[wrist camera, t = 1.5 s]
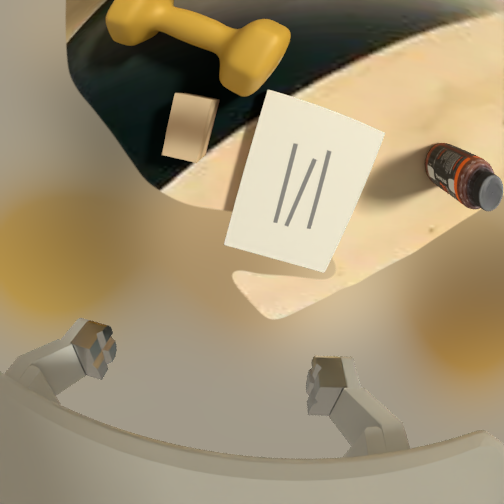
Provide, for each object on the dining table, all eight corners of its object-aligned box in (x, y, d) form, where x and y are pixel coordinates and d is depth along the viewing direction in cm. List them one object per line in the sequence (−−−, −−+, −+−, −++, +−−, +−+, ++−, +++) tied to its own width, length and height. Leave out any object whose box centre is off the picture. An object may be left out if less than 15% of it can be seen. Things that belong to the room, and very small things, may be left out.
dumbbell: (123, 43, 25) (87, 35, 18) (160, -15, 21) (131, -36, 14) (253, 103, 29) (246, 104, 22) (296, 42, 25) (302, 25, 18)
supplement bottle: (419, 180, 31) (465, 216, 22) (427, 137, 28) (479, 159, 19) (452, 188, 31) (499, 223, 21) (461, 147, 28) (514, 173, 18)
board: (268, 90, 28) (267, 89, 27) (380, 131, 29) (385, 133, 28) (225, 239, 38) (223, 245, 37) (322, 266, 39) (324, 272, 38)
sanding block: (187, 93, 29) (175, 93, 25) (220, 99, 29) (211, 99, 25) (175, 147, 32) (162, 155, 28) (206, 154, 33) (196, 162, 29)
